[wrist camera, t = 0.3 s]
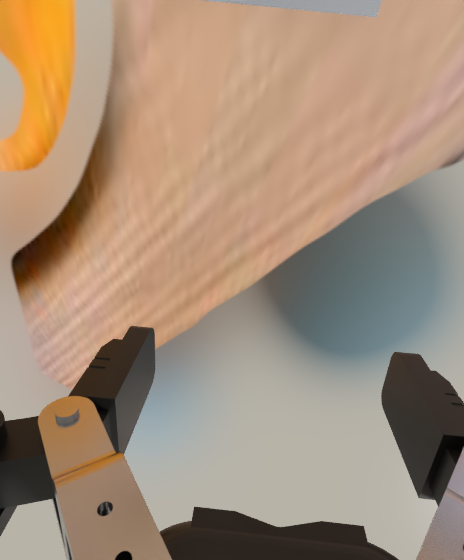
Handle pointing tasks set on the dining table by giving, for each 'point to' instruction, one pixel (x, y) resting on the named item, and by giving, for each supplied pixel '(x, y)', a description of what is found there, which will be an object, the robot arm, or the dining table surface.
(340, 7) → the rectangular recess board
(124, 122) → the dining table surface
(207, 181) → the dining table surface
